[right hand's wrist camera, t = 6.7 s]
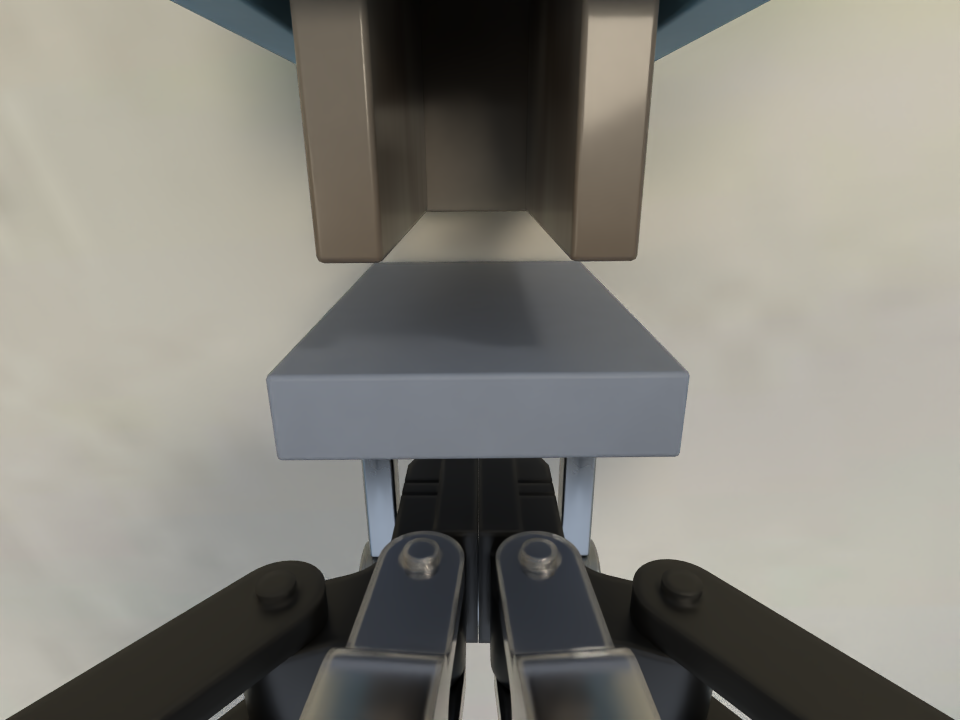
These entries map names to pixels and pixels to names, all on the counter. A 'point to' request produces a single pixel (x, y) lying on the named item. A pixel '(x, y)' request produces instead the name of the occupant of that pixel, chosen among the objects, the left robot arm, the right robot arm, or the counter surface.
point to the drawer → (476, 285)
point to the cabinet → (267, 22)
